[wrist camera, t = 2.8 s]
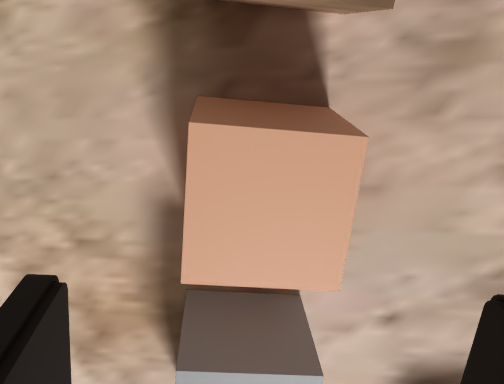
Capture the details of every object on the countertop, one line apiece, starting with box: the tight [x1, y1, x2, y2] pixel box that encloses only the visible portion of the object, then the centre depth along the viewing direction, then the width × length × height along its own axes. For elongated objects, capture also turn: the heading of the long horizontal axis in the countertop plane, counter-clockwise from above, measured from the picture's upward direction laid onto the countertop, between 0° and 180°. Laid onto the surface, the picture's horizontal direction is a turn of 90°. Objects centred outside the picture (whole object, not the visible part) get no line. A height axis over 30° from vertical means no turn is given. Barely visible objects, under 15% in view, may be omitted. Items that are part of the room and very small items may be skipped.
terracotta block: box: [181, 96, 369, 292], centre depth 19 cm, size 6×6×6 cm
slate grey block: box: [175, 289, 324, 384], centre depth 22 cm, size 6×6×6 cm
